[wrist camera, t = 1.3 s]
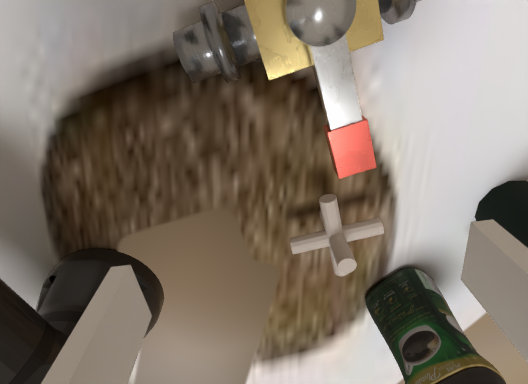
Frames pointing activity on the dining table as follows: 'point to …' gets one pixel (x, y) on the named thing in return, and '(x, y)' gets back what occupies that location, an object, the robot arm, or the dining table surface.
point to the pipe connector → (336, 235)
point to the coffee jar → (425, 333)
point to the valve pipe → (268, 37)
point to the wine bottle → (507, 208)
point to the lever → (334, 79)
